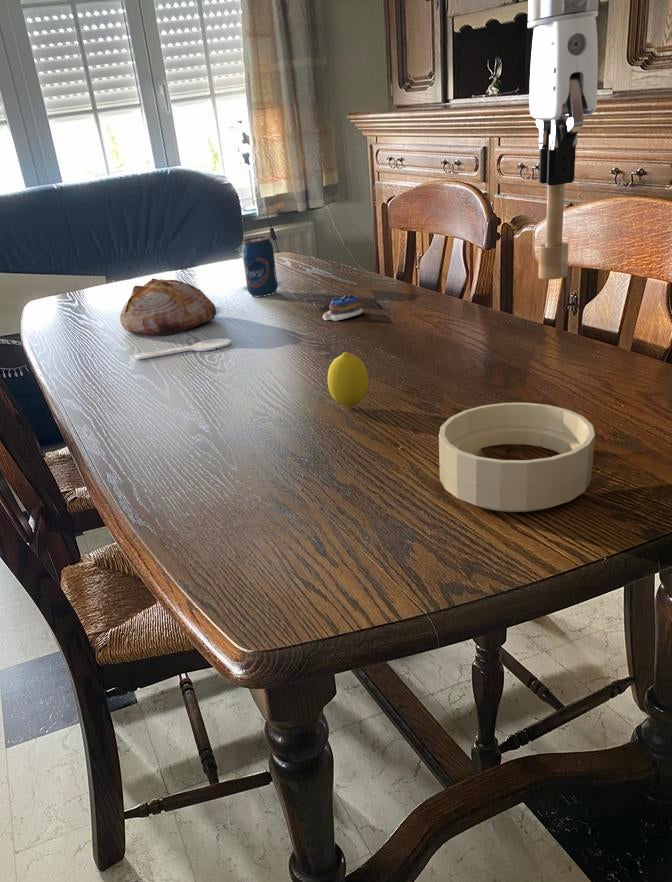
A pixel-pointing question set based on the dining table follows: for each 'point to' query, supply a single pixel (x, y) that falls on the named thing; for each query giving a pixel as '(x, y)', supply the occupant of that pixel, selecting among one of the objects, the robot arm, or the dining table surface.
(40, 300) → the dining table surface
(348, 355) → the lemon
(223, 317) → the dining table surface
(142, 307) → the bread
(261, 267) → the soda can
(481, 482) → the bowl
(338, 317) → the dessert
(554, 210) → the pestle
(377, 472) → the dining table surface
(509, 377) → the dining table surface
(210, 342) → the spoon
